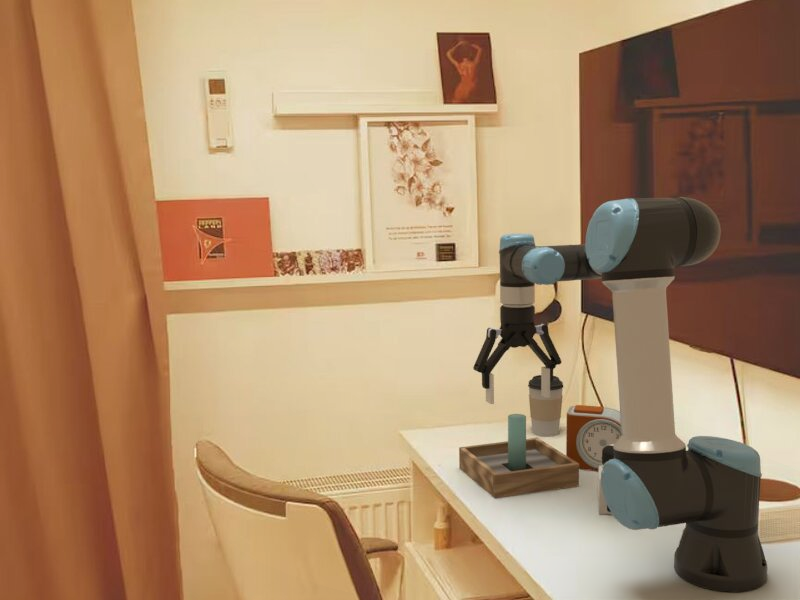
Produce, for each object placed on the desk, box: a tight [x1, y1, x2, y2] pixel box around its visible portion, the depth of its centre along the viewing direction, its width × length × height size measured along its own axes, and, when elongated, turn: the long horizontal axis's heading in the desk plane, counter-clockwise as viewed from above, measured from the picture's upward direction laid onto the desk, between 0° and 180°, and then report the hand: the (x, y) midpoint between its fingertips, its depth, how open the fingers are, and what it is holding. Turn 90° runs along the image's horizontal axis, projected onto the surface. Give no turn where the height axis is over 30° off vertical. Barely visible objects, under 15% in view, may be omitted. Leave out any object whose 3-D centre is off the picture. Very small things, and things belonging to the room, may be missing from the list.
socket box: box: [458, 437, 580, 499], centre depth 204 cm, size 20×20×5 cm
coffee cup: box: [527, 374, 564, 438], centre depth 235 cm, size 9×9×15 cm
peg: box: [507, 413, 527, 471], centre depth 203 cm, size 4×4×14 cm
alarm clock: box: [565, 404, 622, 472], centre depth 210 cm, size 15×8×14 cm, turn 71°
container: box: [597, 444, 614, 516], centre depth 184 cm, size 8×8×13 cm
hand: (518, 399), depth 201 cm, fingers open, 13 cm apart
